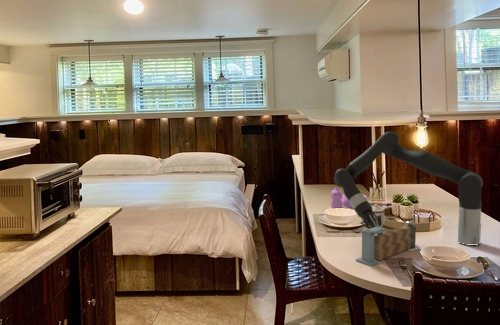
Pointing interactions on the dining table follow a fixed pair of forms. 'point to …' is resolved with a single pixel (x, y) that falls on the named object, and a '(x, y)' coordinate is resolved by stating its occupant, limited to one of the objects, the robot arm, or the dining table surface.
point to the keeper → (369, 245)
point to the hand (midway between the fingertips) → (381, 235)
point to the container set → (337, 198)
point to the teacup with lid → (379, 213)
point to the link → (394, 241)
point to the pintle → (415, 245)
